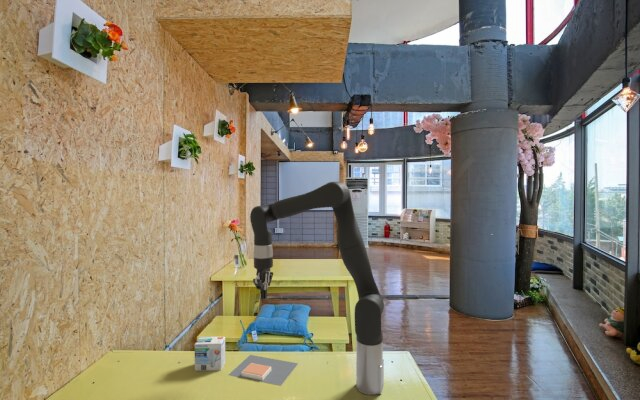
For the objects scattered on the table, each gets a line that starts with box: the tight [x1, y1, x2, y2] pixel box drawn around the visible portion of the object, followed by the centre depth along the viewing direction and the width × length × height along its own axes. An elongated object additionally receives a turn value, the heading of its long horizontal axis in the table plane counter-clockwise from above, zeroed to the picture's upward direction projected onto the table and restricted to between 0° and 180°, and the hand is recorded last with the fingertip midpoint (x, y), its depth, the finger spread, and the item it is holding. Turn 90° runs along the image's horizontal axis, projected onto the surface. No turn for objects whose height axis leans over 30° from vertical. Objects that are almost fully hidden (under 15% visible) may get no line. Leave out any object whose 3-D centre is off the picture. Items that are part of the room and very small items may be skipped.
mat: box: [228, 354, 299, 387], centre depth 131 cm, size 22×16×1 cm
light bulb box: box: [194, 336, 226, 372], centre depth 134 cm, size 11×7×11 cm, turn 93°
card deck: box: [241, 363, 272, 380], centre depth 128 cm, size 9×2×7 cm
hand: (263, 298), depth 135 cm, fingers closed
